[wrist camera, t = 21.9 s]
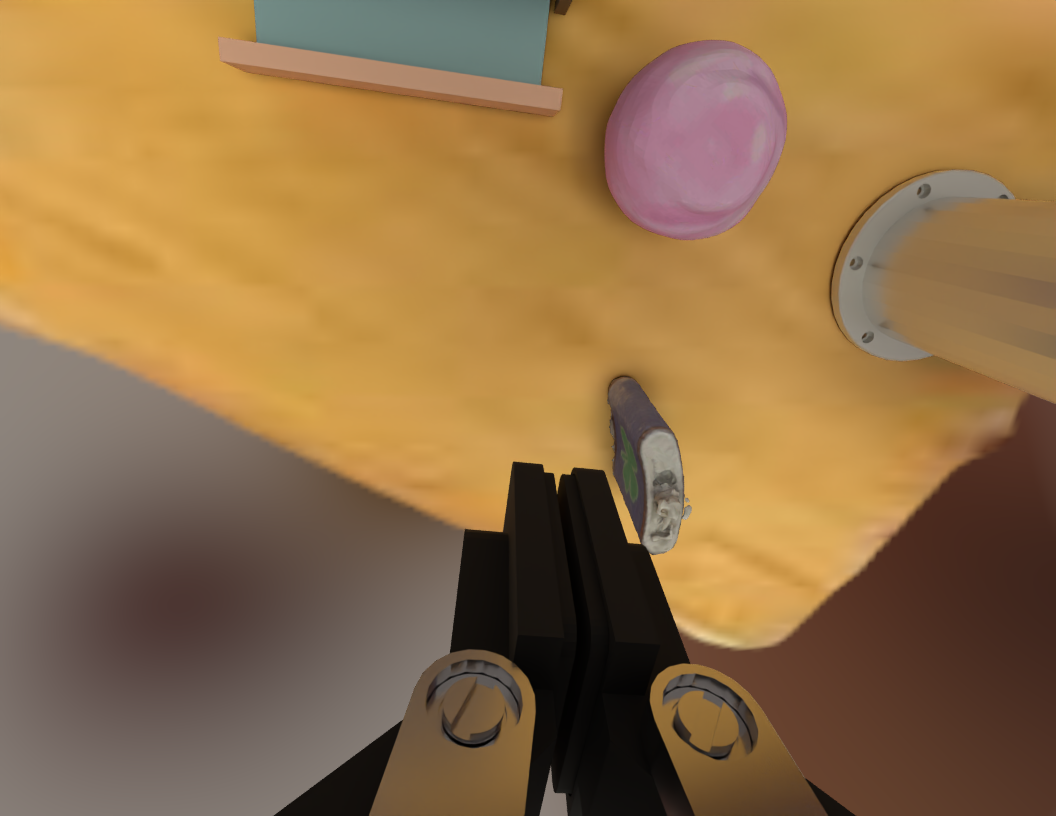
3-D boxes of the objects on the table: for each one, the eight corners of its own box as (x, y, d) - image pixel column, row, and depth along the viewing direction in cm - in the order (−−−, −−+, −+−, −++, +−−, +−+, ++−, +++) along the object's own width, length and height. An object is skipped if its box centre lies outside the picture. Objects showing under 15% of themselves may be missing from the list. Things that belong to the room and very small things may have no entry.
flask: (605, 377, 38) (647, 447, 28) (645, 371, 38) (701, 439, 28) (611, 485, 42) (650, 580, 32) (647, 480, 42) (698, 573, 32)
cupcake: (676, 250, 35) (744, 277, 26) (559, 189, 33) (588, 195, 24) (753, 111, 32) (861, 86, 23) (630, 34, 30) (694, -27, 21)
